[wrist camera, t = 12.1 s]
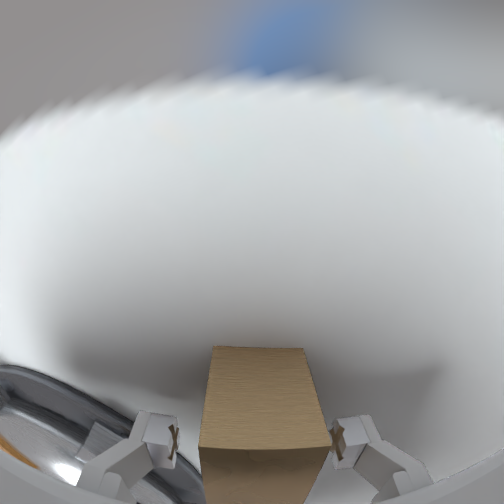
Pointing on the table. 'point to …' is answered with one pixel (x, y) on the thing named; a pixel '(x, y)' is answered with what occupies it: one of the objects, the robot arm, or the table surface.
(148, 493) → the sprocket
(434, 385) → the table surface
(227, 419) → the wooden block
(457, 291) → the table surface
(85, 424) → the sprocket base
